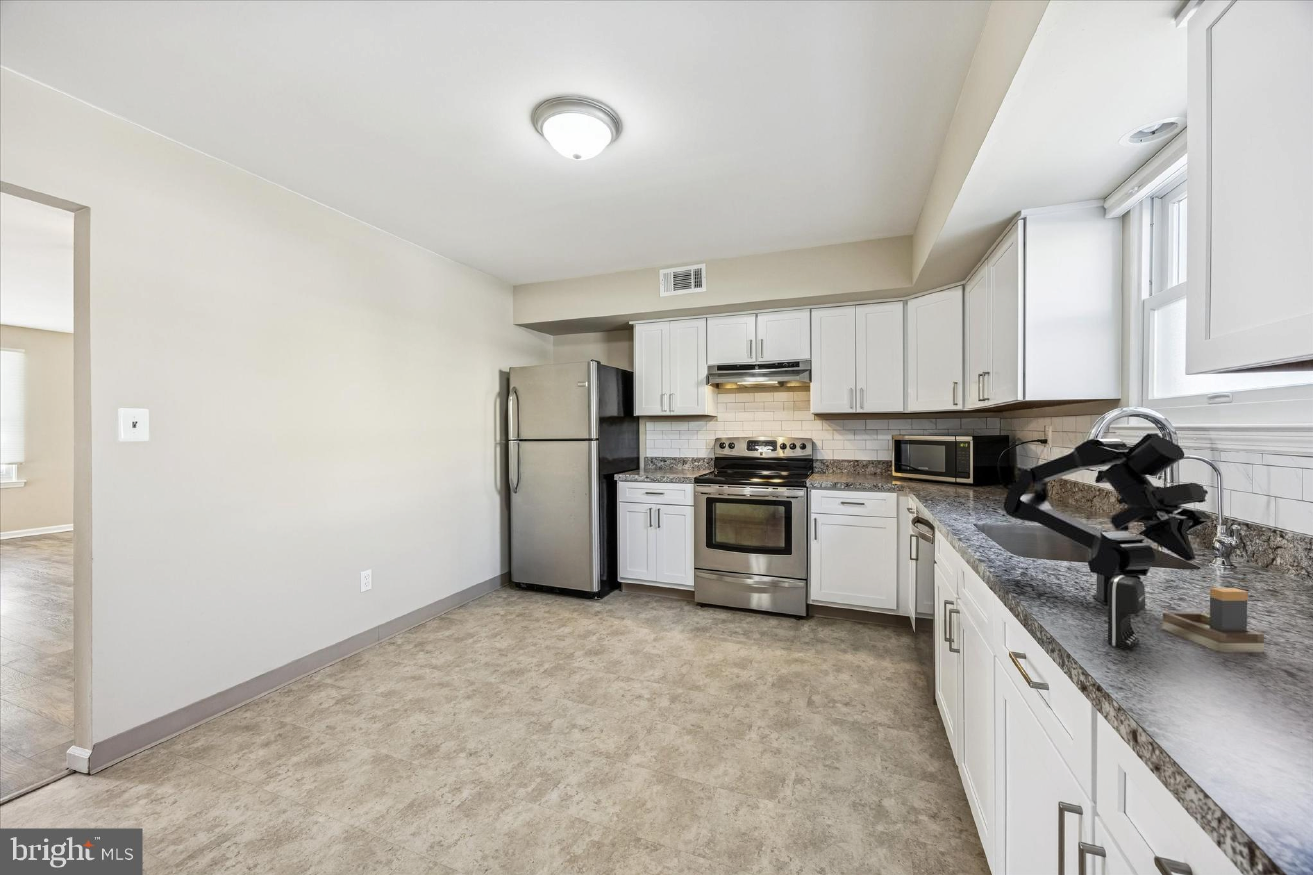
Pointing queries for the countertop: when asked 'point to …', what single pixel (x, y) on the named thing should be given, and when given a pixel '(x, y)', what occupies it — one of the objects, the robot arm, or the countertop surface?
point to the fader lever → (1228, 610)
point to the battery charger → (1124, 610)
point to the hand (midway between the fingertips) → (1191, 560)
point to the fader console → (1211, 633)
